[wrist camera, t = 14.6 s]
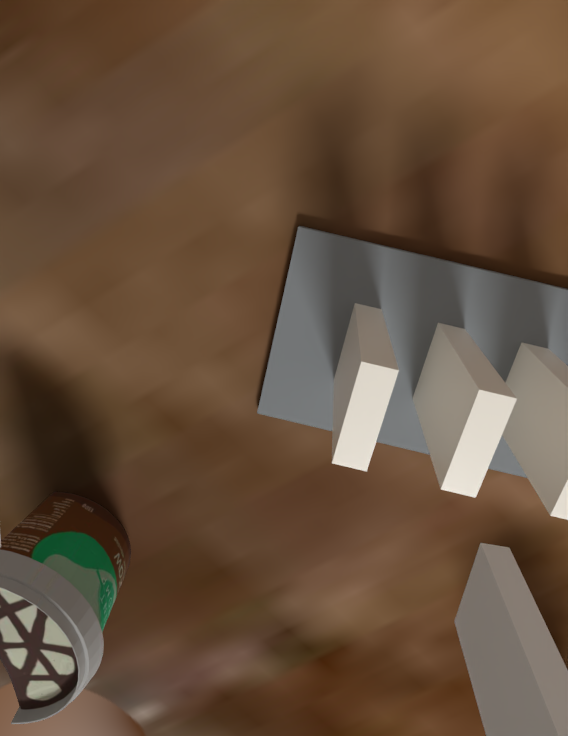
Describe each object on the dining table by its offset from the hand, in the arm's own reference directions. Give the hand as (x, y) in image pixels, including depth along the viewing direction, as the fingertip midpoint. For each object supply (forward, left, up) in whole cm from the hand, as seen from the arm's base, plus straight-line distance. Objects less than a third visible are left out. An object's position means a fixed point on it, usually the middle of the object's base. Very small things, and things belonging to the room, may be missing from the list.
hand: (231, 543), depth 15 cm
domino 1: (+4, 0, -19) cm, 20 cm away
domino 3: (+14, 0, -19) cm, 24 cm away
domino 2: (+9, 0, -19) cm, 21 cm away
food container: (-10, -20, -20) cm, 30 cm away
